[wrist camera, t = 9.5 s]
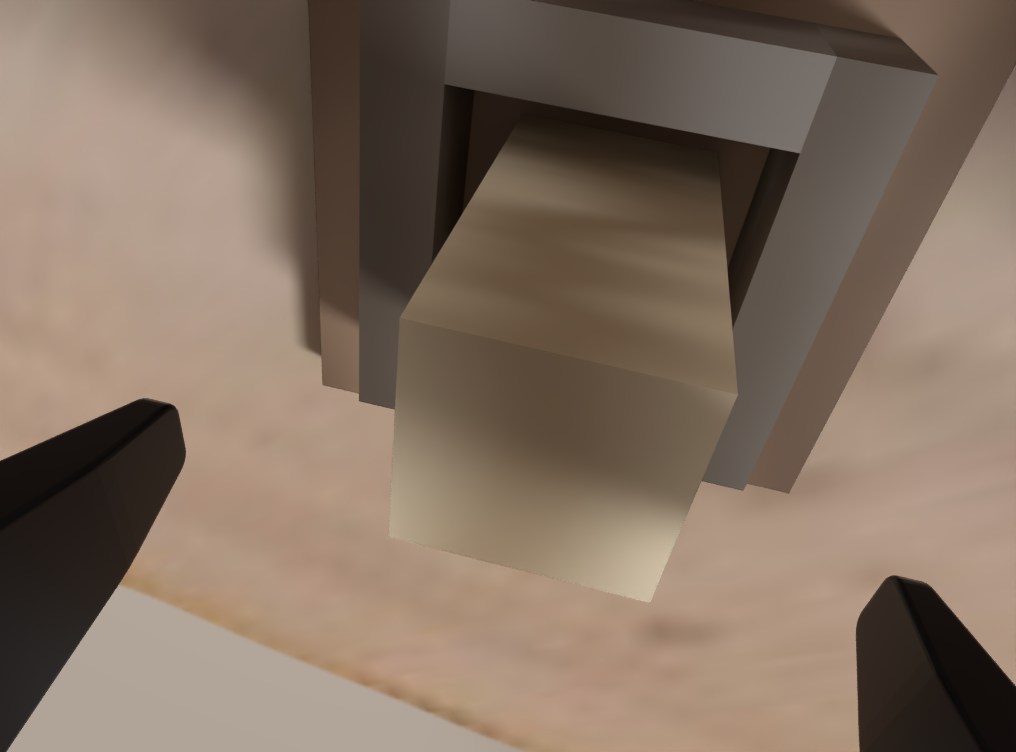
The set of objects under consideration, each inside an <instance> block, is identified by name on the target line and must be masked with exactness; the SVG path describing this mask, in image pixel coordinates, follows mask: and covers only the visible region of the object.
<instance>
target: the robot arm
mask: <svg viewBox="0 0 1016 752" xmlns="http://www.w3.org/2000/svg"><path fill="white" fill-rule="evenodd" d="M185 457H186V448H185V443H184V438H183V433H182V428H181V423H180V418H179V413H178V410H177V409H176V407H175V406H174V405H172V404H170V403H165V402H161V401H157V400H153V399H148V398H143V399H139V400H136V401H134V402H131V403H129V404H127V405H125V406H122V407H120V408H118V409H116V410H113V411H111V412H109V413H107V414H104V415H102V416H100V417H98V418H95V419H93V420H91V421H89V422H86V423H84V424H82V425H80V426H77V427H75V428H73V429H71V430H68V431H66V432H64V433H62V434H59V435H57V436H55V437H53V438H50V439H48V440H46V441H44V442H42V443H39V444H37V445H35V446H33V447H30V448H28V449H26V450H24V451H21V452H19V453H17V454H15V455H12V456H10V457H8V458H6V459H3V460H1V461H0V752H6V751H7V750H8V748H9V747H10V746H11V744H12V743H13V741H14V739H15V738H16V737H17V735H18V734H19V732H20V731H21V729H22V728H23V726H24V725H25V723H26V722H27V720H28V719H29V717H30V716H31V714H32V713H33V711H34V710H35V708H36V707H37V705H38V704H39V702H40V701H41V699H42V698H43V696H44V695H45V693H46V692H47V690H48V689H49V688H50V686H51V684H52V683H53V682H54V680H55V679H56V677H57V676H58V674H59V673H60V671H61V670H62V668H63V666H64V665H65V664H66V662H67V661H68V659H69V658H70V656H71V655H72V653H73V652H74V650H75V649H76V647H77V646H78V644H79V643H80V641H81V640H82V638H83V637H84V635H85V634H86V632H87V631H88V630H89V628H90V627H91V625H92V623H93V622H94V621H95V619H96V618H97V616H98V615H99V613H100V612H101V610H102V609H103V607H104V606H105V604H106V603H107V601H108V600H109V598H110V597H111V595H112V594H113V592H114V591H115V589H116V588H117V586H118V585H119V583H120V582H121V580H122V579H123V577H124V575H125V574H126V572H127V571H128V569H129V568H130V566H131V564H132V562H133V560H134V559H135V557H136V555H137V553H138V552H139V550H140V548H141V546H142V544H143V542H144V540H145V538H146V536H147V534H148V533H149V531H150V529H151V527H152V525H153V523H154V521H155V519H156V517H157V515H158V514H159V512H160V510H161V508H162V506H163V504H164V502H165V500H166V498H167V496H168V494H169V493H170V491H171V489H172V487H173V485H174V483H175V481H176V479H177V477H178V475H179V474H180V472H181V470H182V467H183V465H184V462H185ZM856 654H857V690H858V725H859V748H860V752H1016V686H1015V685H1014V683H1013V682H1012V681H1011V680H1010V679H1009V678H1008V676H1007V675H1006V674H1005V673H1004V672H1003V670H1002V669H1001V668H1000V667H999V666H998V665H997V663H996V662H995V661H994V660H993V659H992V657H991V656H990V655H989V654H988V653H987V652H986V650H985V649H984V648H983V647H982V646H981V645H980V643H979V642H978V641H977V640H976V639H975V637H974V636H973V635H972V634H971V633H970V632H969V630H968V629H967V628H966V627H965V626H964V624H963V623H962V622H961V621H960V620H959V619H958V617H957V616H956V615H955V614H954V613H953V612H952V610H951V609H950V608H949V607H948V606H947V604H946V603H945V602H944V601H943V600H942V599H941V597H940V596H939V595H938V594H937V593H936V591H935V590H934V589H933V588H932V587H931V586H929V585H928V584H926V583H924V582H922V581H918V580H913V579H909V578H905V577H901V576H890V577H888V578H886V579H885V580H884V582H883V583H882V584H881V586H880V587H879V588H878V590H877V591H876V593H875V594H874V595H873V597H872V598H871V599H870V601H869V602H868V604H867V605H866V606H865V608H864V609H863V611H862V612H861V614H860V616H859V618H858V622H857V627H856Z"/></svg>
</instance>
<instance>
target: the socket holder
mask: <svg viewBox="0 0 1016 752" xmlns="http://www.w3.org/2000/svg"><path fill="white" fill-rule="evenodd" d="M308 6H309V33H310V60H311V87H312V114H313V141H314V168H315V195H316V222H317V249H318V276H319V303H320V330H321V357H322V384H323V385H325V386H329V387H333V388H337V389H342V390H346V391H350V392H355V393H359V401H360V402H365V403H369V404H373V405H378V406H382V407H386V408H391V409H395V399H396V379H397V359H398V339H399V319H400V316H401V315H402V313H403V311H404V310H405V308H406V306H407V305H408V303H409V301H410V300H411V298H412V296H413V295H414V293H415V291H416V290H417V288H418V286H419V285H420V283H421V281H422V280H423V278H424V276H425V275H426V273H427V272H428V270H429V268H430V267H431V265H432V263H433V262H434V260H435V258H436V257H437V255H438V253H439V252H440V250H441V248H442V247H443V245H444V243H445V242H446V240H447V238H448V237H449V235H450V233H451V232H452V230H453V228H454V227H455V225H456V223H457V222H458V220H459V219H460V217H461V215H462V214H463V212H464V210H465V209H466V207H467V205H468V204H469V202H470V200H471V199H472V197H473V195H474V194H475V192H476V190H477V189H478V187H479V185H480V184H481V182H482V180H483V179H484V177H485V175H486V174H487V172H488V170H489V169H490V167H491V165H492V164H493V162H494V161H495V159H496V157H497V156H498V154H499V152H500V151H501V149H502V147H503V146H504V144H505V142H506V141H507V139H508V137H509V136H510V134H511V132H512V131H513V129H514V127H515V126H516V124H517V122H518V121H519V119H520V117H521V116H522V114H527V115H532V116H537V117H542V118H547V119H552V120H557V121H562V122H567V123H572V124H577V125H582V126H587V127H592V128H596V129H601V130H606V131H611V132H616V133H621V134H626V135H631V136H636V137H641V138H646V139H651V140H656V141H661V142H666V143H671V144H675V145H680V146H685V147H690V148H695V149H700V150H705V151H710V152H715V153H718V163H719V175H720V187H721V199H722V211H723V223H724V235H725V247H726V259H727V270H728V282H729V294H730V306H731V318H732V330H733V342H734V354H735V366H736V378H737V390H738V396H737V398H736V401H735V403H734V405H733V408H732V410H731V412H730V415H729V417H728V419H727V422H726V424H725V426H724V429H723V431H722V434H721V436H720V438H719V441H718V443H717V445H716V448H715V450H714V452H713V455H712V457H711V459H710V462H709V464H708V467H707V469H706V471H705V474H704V476H703V478H702V481H704V482H708V483H712V484H716V485H721V486H725V487H729V488H734V489H738V490H742V491H743V490H744V488H745V486H746V484H751V485H755V486H759V487H764V488H768V489H772V490H777V491H781V492H785V493H789V492H790V490H791V488H792V486H793V484H794V483H795V481H796V479H797V477H798V475H799V473H800V471H801V469H802V467H803V466H804V464H805V462H806V460H807V458H808V456H809V454H810V452H811V450H812V448H813V447H814V445H815V443H816V441H817V439H818V437H819V435H820V433H821V431H822V430H823V428H824V426H825V424H826V422H827V420H828V418H829V416H830V414H831V413H832V411H833V409H834V407H835V405H836V403H837V401H838V399H839V397H840V396H841V394H842V392H843V390H844V388H845V386H846V384H847V382H848V380H849V378H850V377H851V375H852V373H853V371H854V369H855V367H856V365H857V363H858V361H859V360H860V358H861V356H862V354H863V352H864V350H865V348H866V346H867V344H868V343H869V341H870V339H871V337H872V335H873V333H874V331H875V329H876V327H877V325H878V324H879V322H880V320H881V318H882V316H883V314H884V312H885V310H886V308H887V307H888V305H889V303H890V301H891V299H892V297H893V295H894V293H895V291H896V290H897V288H898V286H899V284H900V282H901V280H902V278H903V276H904V274H905V272H906V271H907V269H908V267H909V265H910V263H911V261H912V259H913V257H914V255H915V254H916V252H917V250H918V248H919V246H920V244H921V242H922V240H923V238H924V237H925V235H926V233H927V231H928V229H929V227H930V225H931V223H932V221H933V219H934V218H935V216H936V214H937V212H938V210H939V208H940V206H941V204H942V202H943V201H944V199H945V197H946V195H947V193H948V191H949V189H950V187H951V185H952V184H953V182H954V180H955V178H956V176H957V174H958V172H959V170H960V168H961V167H962V165H963V163H964V161H965V159H966V157H967V155H968V153H969V151H970V149H971V148H972V146H973V144H974V142H975V140H976V138H977V136H978V134H979V132H980V131H981V129H982V127H983V125H984V123H985V121H986V119H987V117H988V115H989V114H990V112H991V110H992V108H993V106H994V104H995V102H996V100H997V98H998V96H999V95H1000V93H1001V91H1002V89H1003V87H1004V85H1005V83H1006V81H1007V79H1008V78H1009V76H1010V74H1011V72H1012V70H1013V68H1014V66H1015V64H1016V0H308Z"/></svg>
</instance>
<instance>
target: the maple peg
mask: <svg viewBox="0 0 1016 752" xmlns="http://www.w3.org/2000/svg"><path fill="white" fill-rule="evenodd" d="M737 396H738V390H737V378H736V366H735V354H734V342H733V330H732V318H731V306H730V294H729V282H728V270H727V259H726V247H725V235H724V223H723V211H722V199H721V187H720V175H719V163H718V153H715V152H710V151H705V150H700V149H695V148H690V147H685V146H680V145H675V144H671V143H666V142H661V141H656V140H651V139H646V138H641V137H636V136H631V135H626V134H621V133H616V132H611V131H606V130H601V129H596V128H592V127H587V126H582V125H577V124H572V123H567V122H562V121H557V120H552V119H547V118H542V117H537V116H532V115H527V114H522V116H521V117H520V119H519V121H518V122H517V124H516V126H515V127H514V129H513V131H512V132H511V134H510V136H509V137H508V139H507V141H506V142H505V144H504V146H503V147H502V149H501V151H500V152H499V154H498V156H497V157H496V159H495V161H494V162H493V164H492V165H491V167H490V169H489V170H488V172H487V174H486V175H485V177H484V179H483V180H482V182H481V184H480V185H479V187H478V189H477V190H476V192H475V194H474V195H473V197H472V199H471V200H470V202H469V204H468V205H467V207H466V209H465V210H464V212H463V214H462V215H461V217H460V219H459V220H458V222H457V223H456V225H455V227H454V228H453V230H452V232H451V233H450V235H449V237H448V238H447V240H446V242H445V243H444V245H443V247H442V248H441V250H440V252H439V253H438V255H437V257H436V258H435V260H434V262H433V263H432V265H431V267H430V268H429V270H428V272H427V273H426V275H425V276H424V278H423V280H422V281H421V283H420V285H419V286H418V288H417V290H416V291H415V293H414V295H413V296H412V298H411V300H410V301H409V303H408V305H407V306H406V308H405V310H404V311H403V313H402V315H401V316H400V319H399V339H398V359H397V379H396V399H395V420H394V440H393V460H392V480H391V500H390V520H389V537H390V538H394V539H398V540H402V541H406V542H410V543H414V544H418V545H422V546H426V547H430V548H434V549H438V550H442V551H446V552H450V553H453V554H457V555H461V556H465V557H469V558H473V559H477V560H481V561H485V562H489V563H493V564H497V565H501V566H505V567H509V568H513V569H517V570H521V571H525V572H529V573H533V574H537V575H541V576H545V577H549V578H553V579H557V580H561V581H565V582H569V583H573V584H576V585H580V586H584V587H588V588H592V589H596V590H600V591H604V592H608V593H612V594H616V595H620V596H624V597H628V598H632V599H636V600H640V601H644V602H648V603H650V601H651V598H652V596H653V594H654V591H655V589H656V587H657V584H658V582H659V580H660V577H661V575H662V573H663V570H664V568H665V565H666V563H667V561H668V558H669V556H670V554H671V551H672V549H673V547H674V544H675V542H676V540H677V537H678V535H679V532H680V530H681V528H682V525H683V523H684V521H685V518H686V516H687V514H688V511H689V509H690V507H691V504H692V502H693V499H694V497H695V495H696V492H697V490H698V488H699V485H700V483H701V481H702V478H703V476H704V474H705V471H706V469H707V467H708V464H709V462H710V459H711V457H712V455H713V452H714V450H715V448H716V445H717V443H718V441H719V438H720V436H721V434H722V431H723V429H724V426H725V424H726V422H727V419H728V417H729V415H730V412H731V410H732V408H733V405H734V403H735V401H736V398H737Z"/></svg>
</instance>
